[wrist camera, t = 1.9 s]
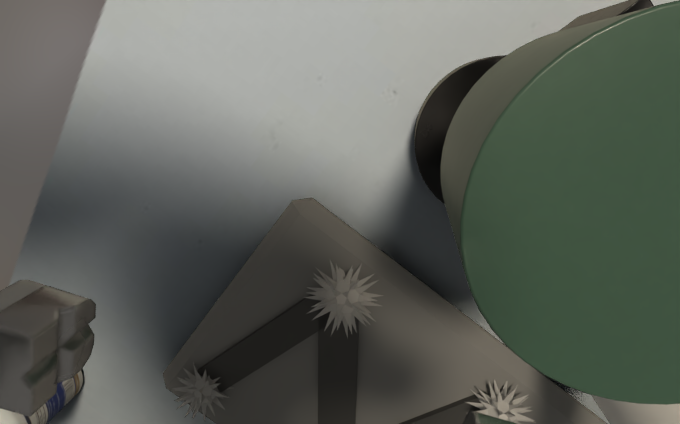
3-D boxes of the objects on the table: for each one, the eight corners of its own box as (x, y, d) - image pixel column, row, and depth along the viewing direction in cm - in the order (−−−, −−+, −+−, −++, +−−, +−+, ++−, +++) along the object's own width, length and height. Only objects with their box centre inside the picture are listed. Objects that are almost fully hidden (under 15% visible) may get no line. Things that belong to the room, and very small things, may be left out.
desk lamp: (561, -13, 27) (943, -220, 8) (647, 123, 28) (1141, 229, 9) (384, 122, 30) (348, 206, 11) (468, 235, 32) (559, 474, 13)
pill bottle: (20, 363, 41) (-90, 447, 32) (54, 335, 40) (-52, 414, 31) (62, 404, 42) (-34, 497, 33) (96, 378, 41) (6, 468, 32)
